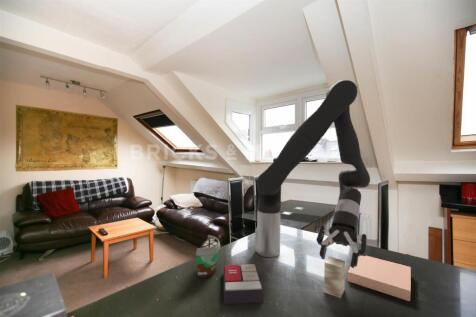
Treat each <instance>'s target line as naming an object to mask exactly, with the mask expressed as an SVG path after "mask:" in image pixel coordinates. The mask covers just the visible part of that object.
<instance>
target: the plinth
mask: <svg viewBox="0 0 476 317" xmlns="http://www.w3.org/2000/svg"><path fill="white" fill-rule="evenodd" d="M411 271H412V267H411V266H407V265H403V264H400V263H396V262H393V261H388V260H384V259H380V258H377V257H374V256H369V255H366V256H359V257H358V263H357V266H356V267H355V266H354V268H351V265H350V266H349V269H348V271H347V282H350V283H353V284H355V285H359V286H362V287H363V288H368V289H371V290H374V291H378V292H381V293H383V294H386V295H388V296H393V297H396V298H398V299H401V300H405V301H407V302H411V291H412V290H411V289H412V288H411V287H412V284H411V282H412V281H411V280H412V279H411V278H412V277H411V276H412V275H411Z"/></svg>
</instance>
